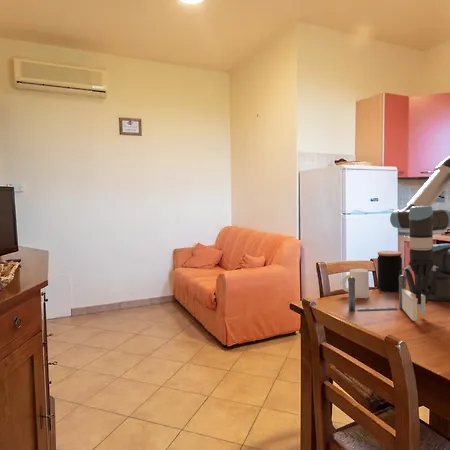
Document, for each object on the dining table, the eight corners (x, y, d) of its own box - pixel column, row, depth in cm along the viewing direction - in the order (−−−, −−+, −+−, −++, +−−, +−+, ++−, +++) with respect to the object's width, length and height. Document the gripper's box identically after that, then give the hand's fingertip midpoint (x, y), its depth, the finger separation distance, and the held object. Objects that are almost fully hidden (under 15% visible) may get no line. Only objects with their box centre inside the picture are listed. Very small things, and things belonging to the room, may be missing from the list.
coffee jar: (404, 292, 172) (404, 253, 171) (380, 292, 174) (379, 254, 173) (398, 287, 182) (398, 250, 181) (375, 286, 184) (375, 250, 183)
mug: (340, 293, 174) (339, 268, 173) (367, 294, 171) (366, 268, 171) (342, 298, 166) (341, 272, 165) (370, 298, 163) (369, 272, 163)
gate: (401, 308, 145) (401, 288, 145) (406, 308, 145) (406, 288, 144) (412, 320, 131) (412, 298, 130) (417, 320, 130) (417, 299, 130)
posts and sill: (404, 307, 149) (404, 274, 148) (407, 309, 146) (407, 275, 145) (347, 309, 149) (346, 276, 148) (349, 311, 147) (348, 277, 146)
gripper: (433, 246, 138) (433, 308, 140) (398, 248, 138) (399, 310, 140) (444, 249, 131) (445, 314, 132) (408, 250, 131) (409, 316, 132)
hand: (421, 312), depth 136 cm, fingers closed
